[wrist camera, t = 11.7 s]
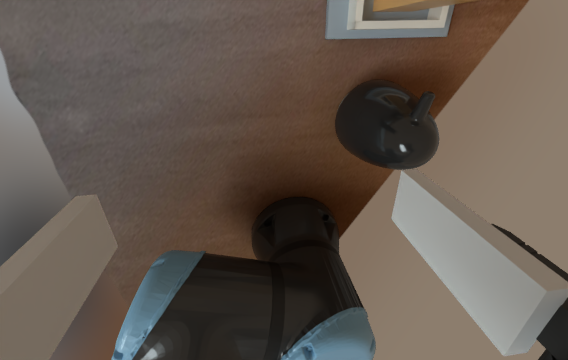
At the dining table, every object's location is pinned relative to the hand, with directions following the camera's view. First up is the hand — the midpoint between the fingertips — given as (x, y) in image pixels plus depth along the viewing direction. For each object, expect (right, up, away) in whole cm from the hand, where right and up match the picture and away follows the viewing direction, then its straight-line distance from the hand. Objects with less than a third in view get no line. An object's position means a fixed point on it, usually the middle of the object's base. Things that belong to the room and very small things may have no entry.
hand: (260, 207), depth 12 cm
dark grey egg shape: (+12, +11, +27) cm, 31 cm away
